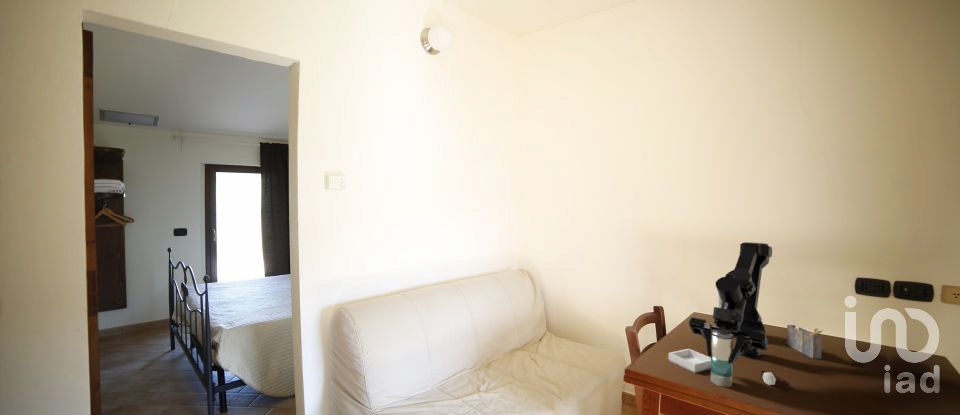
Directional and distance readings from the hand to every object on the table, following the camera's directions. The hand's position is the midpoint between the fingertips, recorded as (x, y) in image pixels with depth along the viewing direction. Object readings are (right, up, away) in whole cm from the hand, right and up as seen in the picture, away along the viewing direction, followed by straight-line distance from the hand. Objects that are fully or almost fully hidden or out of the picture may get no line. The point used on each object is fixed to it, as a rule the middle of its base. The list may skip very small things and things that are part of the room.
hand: (720, 359), depth 104 cm
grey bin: (-1, -7, +13) cm, 15 cm away
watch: (+16, -8, 0) cm, 17 cm away
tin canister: (+1, -7, +1) cm, 7 cm away
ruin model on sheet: (+44, -8, +23) cm, 50 cm away
